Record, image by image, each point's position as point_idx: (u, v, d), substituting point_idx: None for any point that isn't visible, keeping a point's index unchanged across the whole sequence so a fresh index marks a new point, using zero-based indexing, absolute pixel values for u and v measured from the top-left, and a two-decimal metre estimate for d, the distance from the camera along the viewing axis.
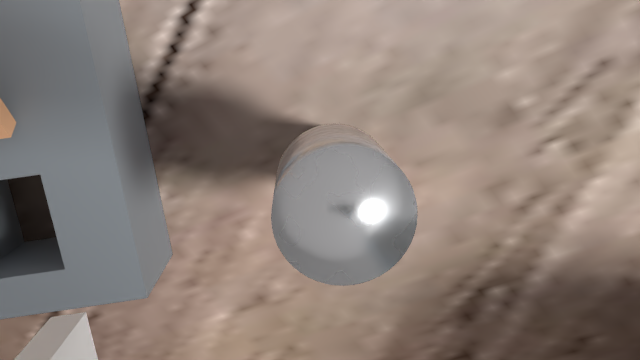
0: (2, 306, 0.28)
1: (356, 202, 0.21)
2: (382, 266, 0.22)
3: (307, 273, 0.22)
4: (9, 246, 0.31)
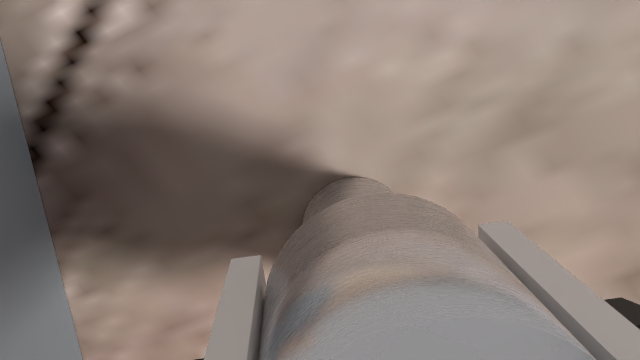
0: None
1: None
2: None
3: None
4: None
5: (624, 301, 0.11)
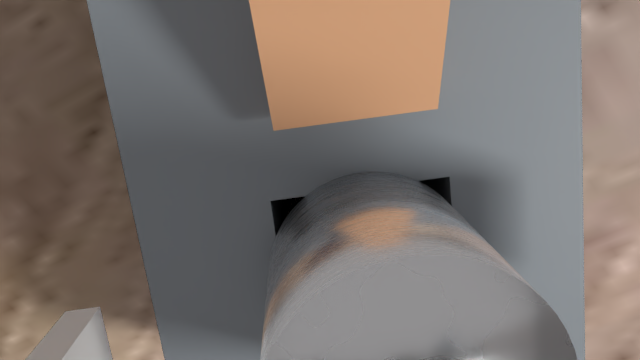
0: None
1: None
2: None
3: None
4: None
5: None
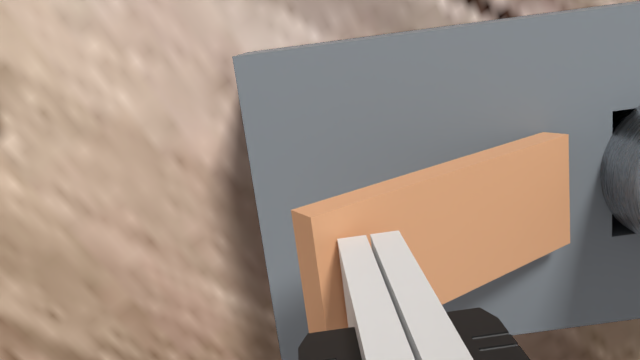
0: None
1: None
2: None
3: None
4: None
5: (482, 311, 0.11)
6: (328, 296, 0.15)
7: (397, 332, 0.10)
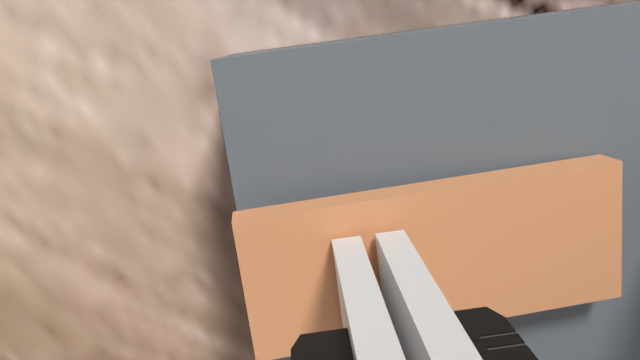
0: None
1: None
2: None
3: None
4: None
5: (488, 310, 0.11)
6: (253, 302, 0.15)
7: (389, 333, 0.10)
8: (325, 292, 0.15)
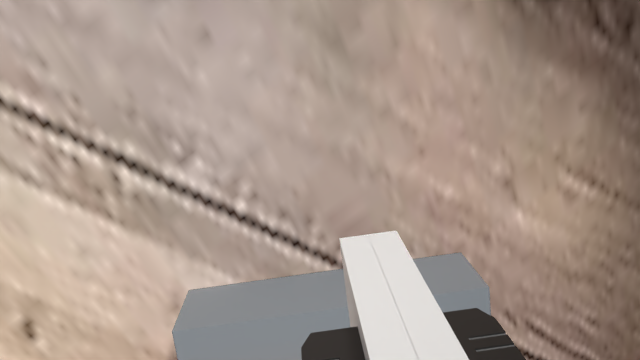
0: None
1: None
2: None
3: None
4: None
5: (479, 311, 0.11)
6: None
7: (401, 332, 0.10)
8: None
